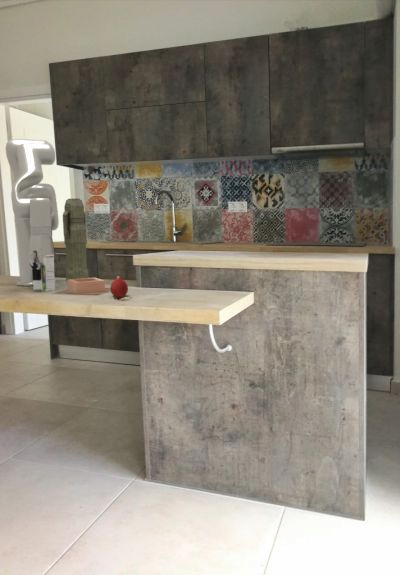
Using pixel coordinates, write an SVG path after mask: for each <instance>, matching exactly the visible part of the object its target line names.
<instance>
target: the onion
mask: <svg viewBox="0 0 400 575" xmlns="http://www.w3.org/2000/svg"><path fill="white" fill-rule="evenodd" d="M128 287H129V286H128V284H127V282H126V281H125V280H123V278H121V276H119V275H117V276H116V279H114V280H113V281H112V282H111V284H110V287H109V288H110V290H111V291H110V293H111V295H112V296H113V297H115V298H116V299H117V300H119V301H120V300H121V299H123V298H124V297H125V296H126V295H127V293H128V291H129V288H128Z"/></svg>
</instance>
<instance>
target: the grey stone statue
mask: <svg viewBox="0 0 400 575" xmlns="http://www.w3.org/2000/svg"><path fill="white" fill-rule="evenodd" d="M86 216H87V215H86V212H85V205H84V202H83V200H82V199H80V198H67V199H66V200H65V203H64V211H63V213H62V225H63V226H62V227H63V240H64V245H65V256H66V258H65V260H66V268H65V281H66V282H65V283H67V280H68V279H83V278H90V277H89V269H88V267H87V266H88V264H87V243H88V239H87V238H88V236H87V235H88V233H87V232H88V230H87V218H86Z"/></svg>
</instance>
